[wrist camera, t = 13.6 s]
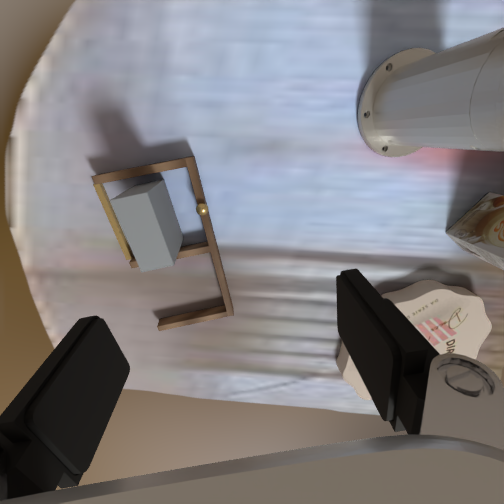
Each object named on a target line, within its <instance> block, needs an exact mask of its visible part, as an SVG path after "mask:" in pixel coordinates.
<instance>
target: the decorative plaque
mask: <svg viewBox="0 0 504 504" xmlns="http://www.w3.org/2000/svg"><path fill="white" fill-rule="evenodd" d="M381 296H382V297H383V298H387V299H389V300H391V301H392V302H393V303H394V304H395V306H396V307H397V308H398V309H399V310H400V311H401V312H402V313H403V314H404V315H405V316H406V318H407V319H408V320H409V321H410V322H411V323H412V324H413V325H414V326H415V327H416V328H417V330H418V331H419V332H420V333H421V334H422V335H423V336H424V337H425V338H426V339H427V340H428V342H429V343H430V344H431V345H432V346H433V347H434V348H435V349H436V350H437V351H438V352H439V354H440V355H441V354H445V353H455V354H460V355H465V356H468V357H470V358H473V359H476V357H477V354H478V351H479V348H480V346H481V345H482V343H483V341H484V340H485V338H486V337H487V336H488V334H489V333H490V331H491V328H492V325H491V322H490V320H489V319H488V317H487V316H486V314H485V309H484V303H483V300H482V299H481V298H480V297H478V296H477V295H475V294H473V293H472V292H470V291H469V290H467V289H465V288H464V287H459V286H448V285H445V284H441V283H439V282H437V281H435V280H421V281H419V282H416V283H414V284H412V285H410V286H408V287H406V288H404V289H401V290H398V291H393V292H388V293H385V294H383V295H381ZM336 363H337V366H338V368H339V370H340V372H341V374H342V376H343V378H344V380H345V381H346V382H347V383H348V384H349V385H351V386H352V387H353V388H354V389H355V391H356V393H357V395H358V396H359V397H361V398H362V399H365V400H372V398H371V396H370V394H369V392H368V390H367V388H366V386H365V384H364V382H363V380H362V378H361V376H360V374H359V372H358V371H357V369H356V367H355V365H354V363H353V361H352V359H351V357H350V355H349V353H348V351H347V349H346V347H345V345H344V343H343V341H342V345H341V349H340V353H339V355H338V358H337V360H336Z"/></svg>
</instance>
